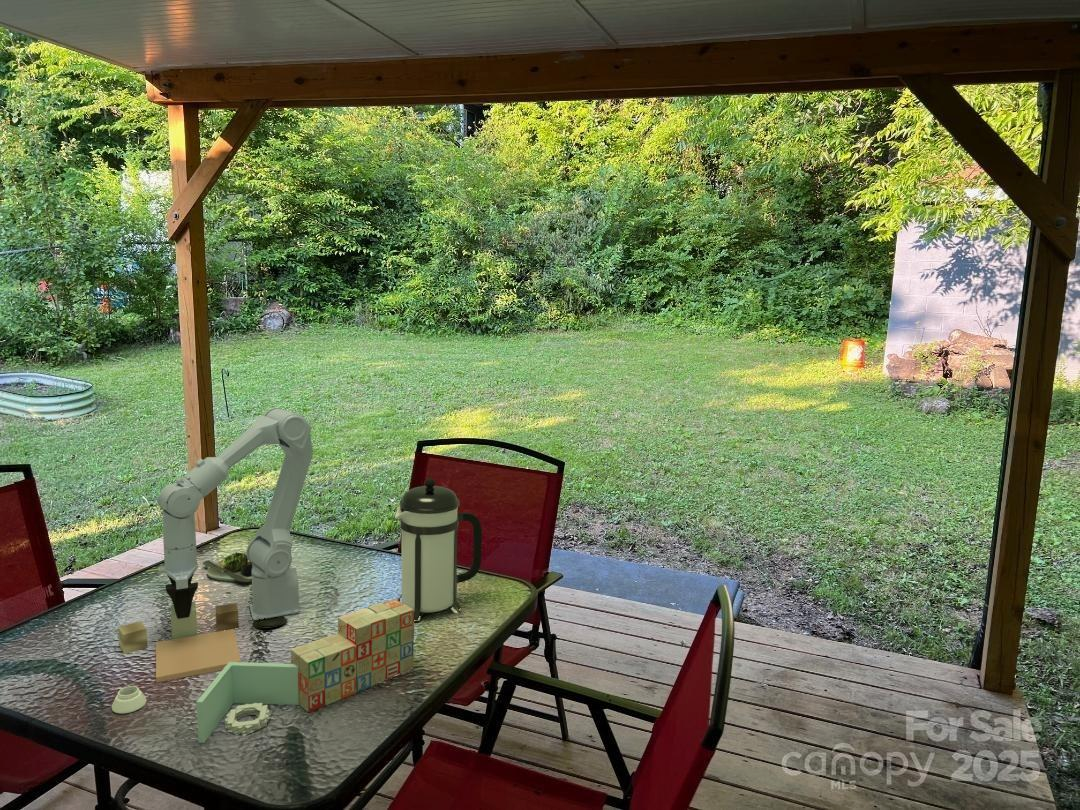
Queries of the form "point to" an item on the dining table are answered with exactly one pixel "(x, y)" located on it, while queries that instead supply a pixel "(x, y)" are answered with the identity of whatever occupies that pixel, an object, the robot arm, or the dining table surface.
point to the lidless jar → (128, 700)
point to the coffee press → (433, 548)
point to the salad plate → (231, 568)
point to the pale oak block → (132, 637)
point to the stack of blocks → (355, 654)
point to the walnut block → (226, 617)
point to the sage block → (184, 624)
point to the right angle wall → (246, 696)
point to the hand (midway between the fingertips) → (182, 609)
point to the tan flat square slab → (195, 655)
